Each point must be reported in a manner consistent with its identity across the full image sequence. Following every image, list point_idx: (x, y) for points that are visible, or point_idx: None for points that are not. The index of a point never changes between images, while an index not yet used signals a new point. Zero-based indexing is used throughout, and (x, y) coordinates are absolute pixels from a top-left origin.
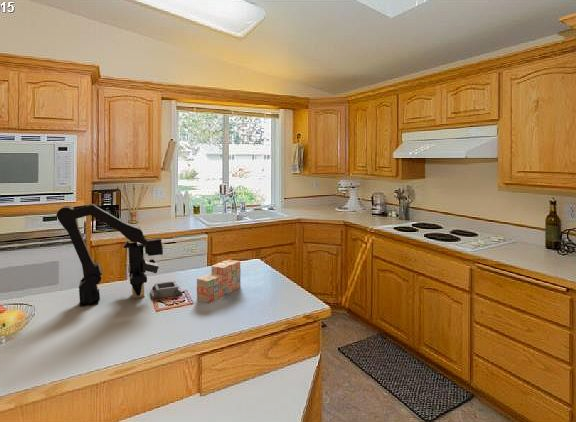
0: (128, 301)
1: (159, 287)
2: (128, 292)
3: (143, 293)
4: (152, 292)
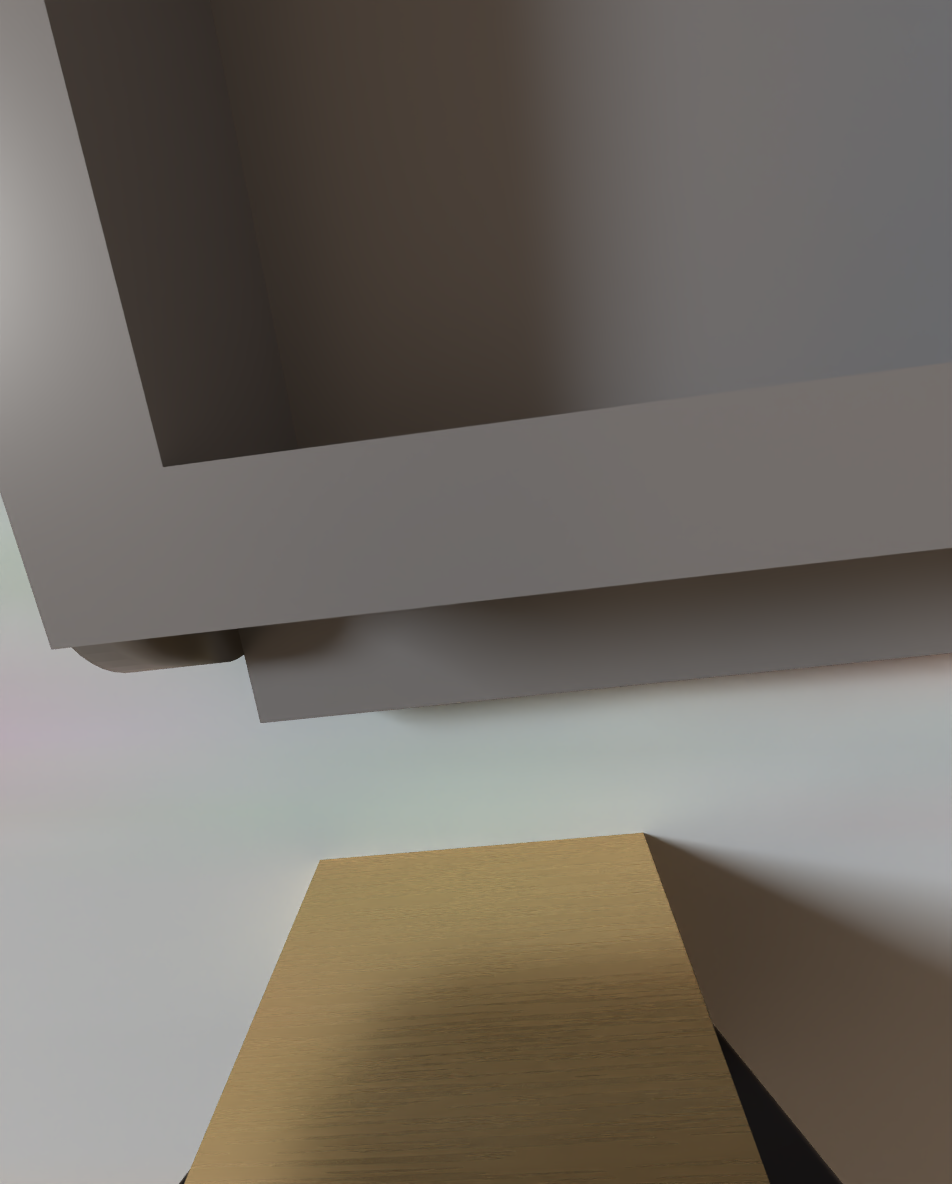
0: (830, 1156)
1: (248, 351)
2: (188, 1168)
3: (677, 945)
4: (616, 646)
